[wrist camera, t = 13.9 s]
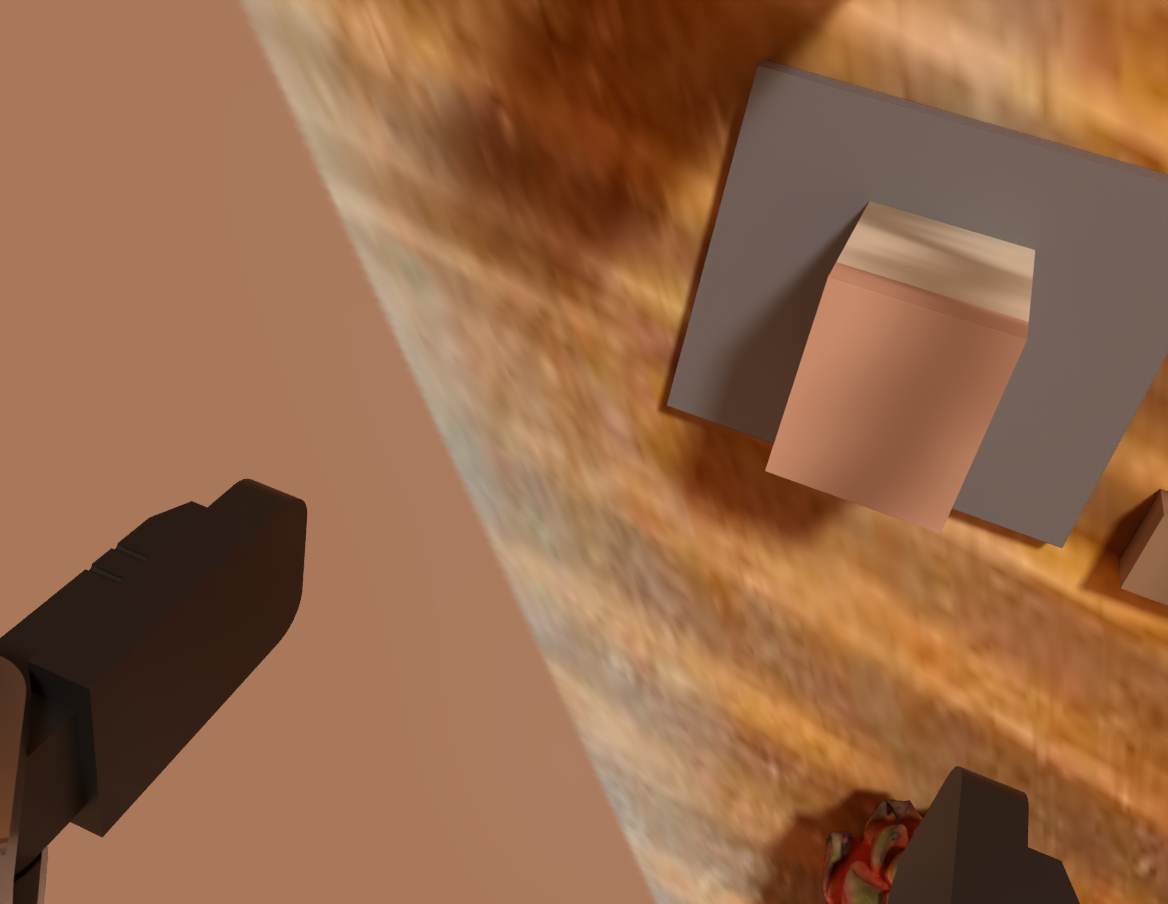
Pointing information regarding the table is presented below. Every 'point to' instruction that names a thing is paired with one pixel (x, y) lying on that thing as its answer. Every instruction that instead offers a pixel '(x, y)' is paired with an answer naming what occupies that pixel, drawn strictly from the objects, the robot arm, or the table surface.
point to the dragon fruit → (868, 856)
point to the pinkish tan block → (905, 364)
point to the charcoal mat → (959, 198)
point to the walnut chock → (1148, 554)
